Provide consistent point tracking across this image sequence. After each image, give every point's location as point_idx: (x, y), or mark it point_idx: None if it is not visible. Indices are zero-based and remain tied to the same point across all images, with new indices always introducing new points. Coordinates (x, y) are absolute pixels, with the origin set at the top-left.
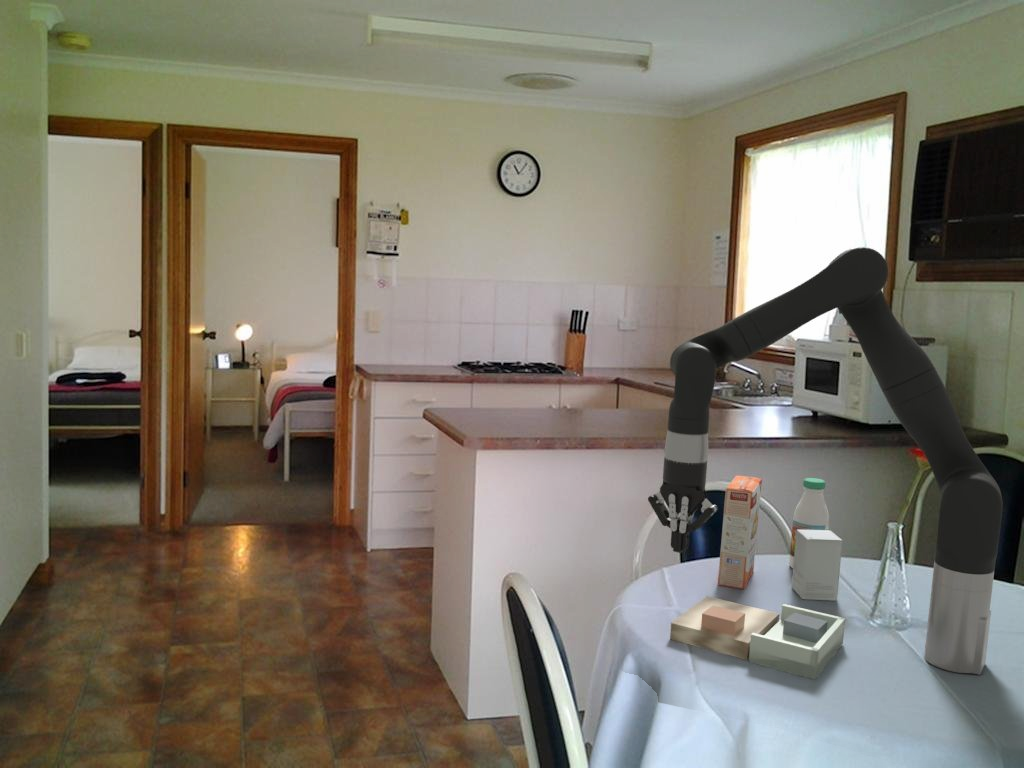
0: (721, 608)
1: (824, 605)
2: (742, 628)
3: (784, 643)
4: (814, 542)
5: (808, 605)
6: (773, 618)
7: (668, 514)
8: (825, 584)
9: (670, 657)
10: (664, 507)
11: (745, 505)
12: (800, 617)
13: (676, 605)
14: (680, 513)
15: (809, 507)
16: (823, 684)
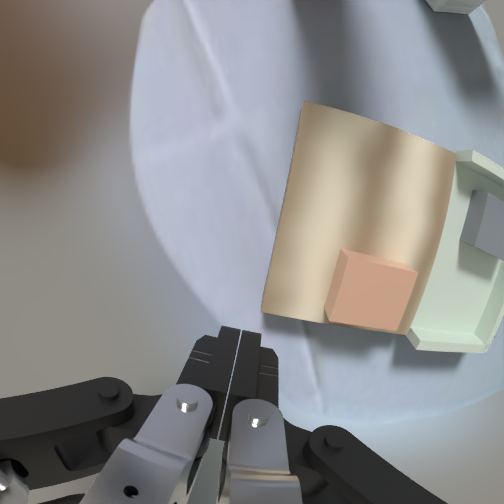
0: (369, 267)
1: (463, 31)
2: None
3: (456, 351)
4: None
5: (448, 33)
6: (450, 188)
7: (84, 431)
8: (469, 3)
9: (278, 363)
10: (35, 452)
11: None
12: (495, 216)
13: (232, 106)
14: (178, 500)
15: None
16: None
